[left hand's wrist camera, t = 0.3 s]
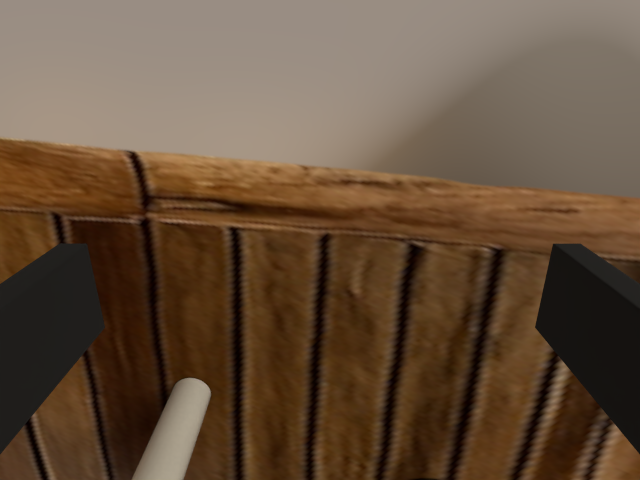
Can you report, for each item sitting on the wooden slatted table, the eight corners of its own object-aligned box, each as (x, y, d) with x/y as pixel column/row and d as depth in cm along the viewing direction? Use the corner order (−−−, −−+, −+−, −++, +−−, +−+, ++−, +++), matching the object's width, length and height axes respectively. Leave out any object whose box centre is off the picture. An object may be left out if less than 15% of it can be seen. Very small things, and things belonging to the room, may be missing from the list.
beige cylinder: (208, 377, 48) (161, 509, 34) (213, 407, 50) (169, 545, 35) (170, 378, 48) (106, 510, 34) (176, 408, 50) (117, 546, 35)
